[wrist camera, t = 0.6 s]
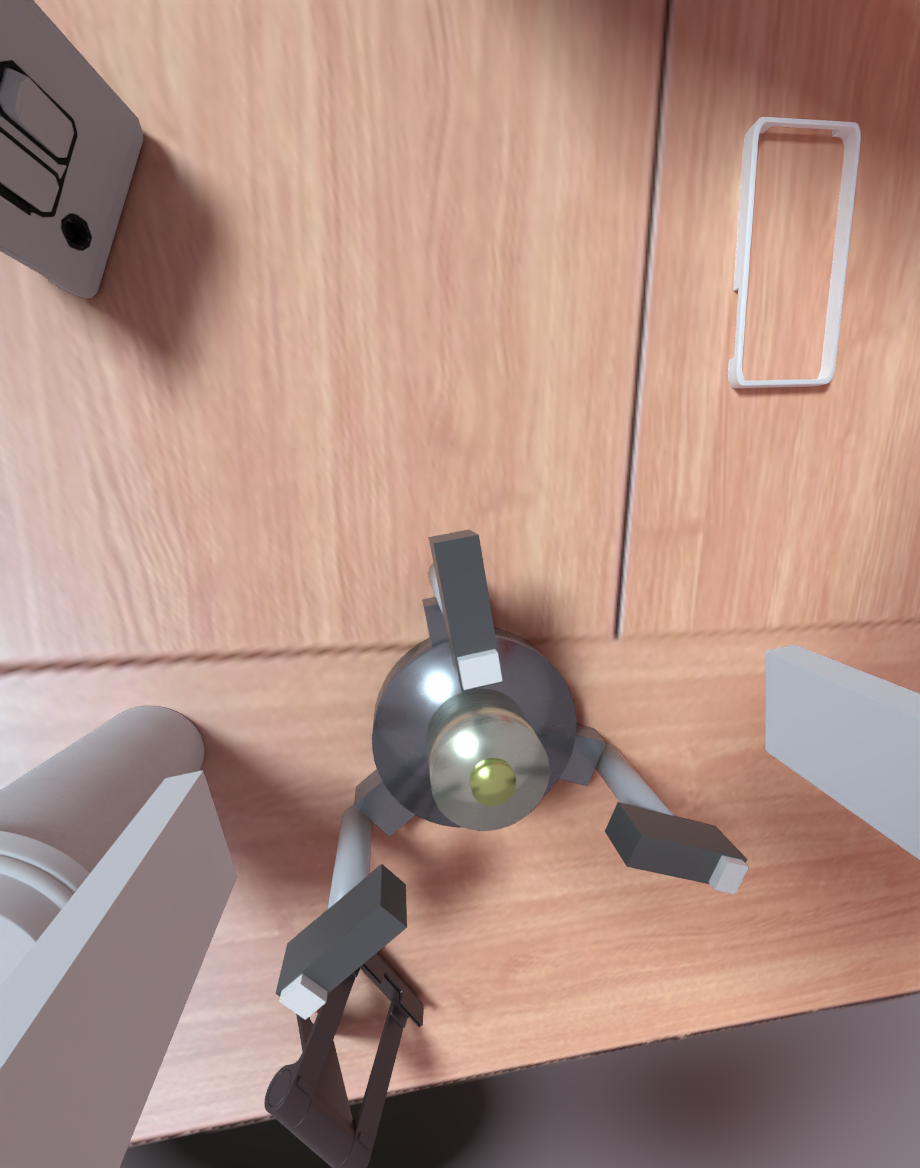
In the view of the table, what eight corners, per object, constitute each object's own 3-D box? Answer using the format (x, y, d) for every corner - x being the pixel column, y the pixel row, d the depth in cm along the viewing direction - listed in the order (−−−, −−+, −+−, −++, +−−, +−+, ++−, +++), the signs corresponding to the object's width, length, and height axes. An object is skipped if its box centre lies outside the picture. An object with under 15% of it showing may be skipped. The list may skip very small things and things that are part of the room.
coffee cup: (109, 658, 29) (-186, 834, 14) (253, 720, 31) (127, 928, 16) (47, 781, 30) (-289, 1064, 15) (191, 833, 32) (19, 1124, 17)
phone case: (816, 387, 32) (842, 138, 29) (834, 383, 31) (864, 121, 28) (721, 390, 31) (738, 132, 28) (736, 385, 30) (755, 114, 27)
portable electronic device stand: (424, 995, 38) (432, 1135, 29) (343, 1047, 37) (329, 1201, 29) (364, 928, 35) (355, 1058, 27) (278, 983, 35) (244, 1130, 27)
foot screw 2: (418, 525, 29) (431, 545, 19) (451, 519, 29) (483, 535, 19) (438, 627, 31) (460, 697, 20) (469, 620, 31) (507, 686, 21)
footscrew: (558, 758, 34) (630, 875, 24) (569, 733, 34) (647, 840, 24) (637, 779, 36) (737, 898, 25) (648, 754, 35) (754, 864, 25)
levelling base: (421, 571, 30) (430, 598, 23) (631, 641, 34) (700, 684, 26) (339, 806, 33) (323, 898, 25) (542, 849, 36) (580, 942, 29)
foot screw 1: (383, 778, 32) (378, 913, 22) (404, 797, 33) (408, 937, 23) (310, 840, 33) (271, 1003, 22) (331, 858, 33) (303, 1025, 23)
